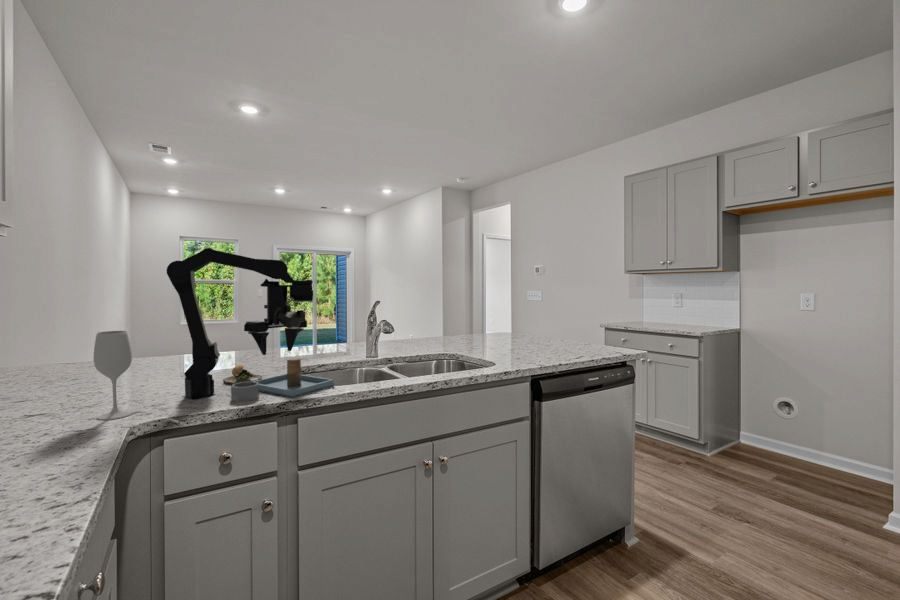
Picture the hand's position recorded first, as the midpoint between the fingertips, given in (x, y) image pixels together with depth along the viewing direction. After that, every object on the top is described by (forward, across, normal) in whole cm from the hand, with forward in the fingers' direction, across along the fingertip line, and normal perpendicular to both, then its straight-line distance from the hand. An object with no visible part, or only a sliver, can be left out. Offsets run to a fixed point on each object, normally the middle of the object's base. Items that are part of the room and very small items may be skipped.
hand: (277, 352), depth 134 cm
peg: (+10, +4, -2) cm, 12 cm away
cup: (+12, -12, -1) cm, 17 cm away
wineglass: (+13, -36, +15) cm, 41 cm away
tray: (+12, +3, -2) cm, 12 cm away
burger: (+12, +2, +19) cm, 22 cm away
